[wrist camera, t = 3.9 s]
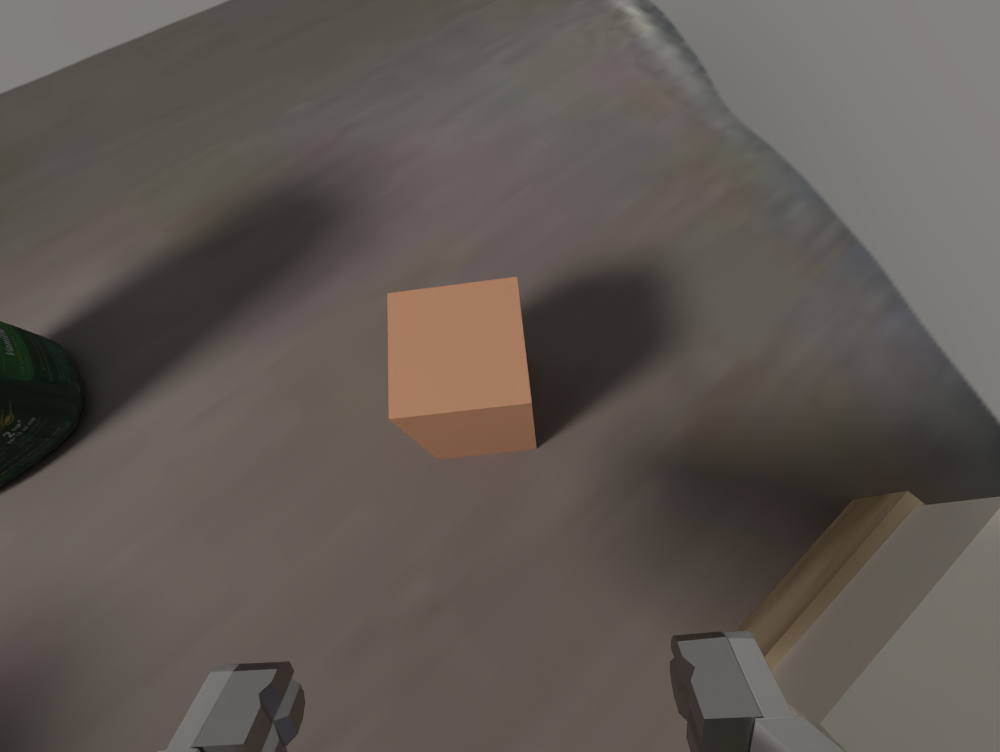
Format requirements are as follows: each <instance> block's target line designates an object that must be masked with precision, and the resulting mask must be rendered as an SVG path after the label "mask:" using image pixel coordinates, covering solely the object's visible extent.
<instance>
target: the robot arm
mask: <svg viewBox="0 0 1000 752" xmlns="http://www.w3.org/2000/svg"><path fill="white" fill-rule="evenodd" d="M671 649H672V652H673V656H674V658H673V659H672V660H671V661H670V675H671V683H672V689H673V693H674V697H675V701H676V705H677V708H678V711H679V714H680V715H681V716H682V717H683V718H684V719H685V720H686V721H687V737H686V738H687V741H688V744H689V748H690V751H691V752H845V751H843V750H842V749H841V748H840V747H839V746H838V745H836V744H835V743H834V742H833V741H832V740H830V739H829V738H828V737H827V736H826V735H825V734H823V733H822V732H821V731H820V730H819V729H817V728H816V727H815V726H814V725H813V724H811V723H810V722H809V721H808V720H807V719H806V718H804V717H803V716H794V714H793V713H792V711H791V709H790V707H789V705H788V703H787V701H786V699H785V697H784V695H783V693H782V691H781V689H780V687H779V685H778V683H777V681H776V679H775V677H774V675H773V673H772V671H771V669H770V667H769V665H768V663H767V662H766V660H765V658H764V656H763V654H762V652H761V650H760V648H759V646H758V644H757V642H756V640H755V638H754V636H753V635H752V634H751V633H750V632H749V631H746V630H744V631H732V632H709V633H697V634H685V635H673V637H672V638H671ZM293 673H294V669H293V668H292V666H291V664H290V662H289V661H285V662H265V663H246V664H243V663H240V664H225V665H218V666H217V667H216V668H215V669H213V670H212V671H211V672H210V674H209V675H208V677H207V679H206V681H205V682H204V684H203V686H202V688H201V689H200V691H199V693H198V694H197V696H196V698H195V700H194V701H193V703H192V705H191V707H190V708H189V710H188V712H187V714H186V715H185V717H184V719H183V721H182V722H181V724H180V726H179V728H178V729H177V731H176V733H175V734H174V736H173V738H172V740H171V741H170V743H169V745H168V747H167V748H166V750H159V751H157V752H287V748H286V746H287V745H288V744H289V743H290V742H291V740H292V739H293V738H294V737H295V736H296V735H297V734H298V731H299V728H300V725H301V723H302V720H303V714H304V707H305V697H304V691H303V689H302V686H301V684H299V683H298V682H296V681H295V680H293V679H292V676H293Z"/></svg>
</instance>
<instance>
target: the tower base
mask: <svg viewBox="0 0 1000 752" xmlns="http://www.w3.org/2000/svg"><path fill="white" fill-rule="evenodd" d="M921 505H925V504H924V503H923V502H921V501H920V500H919V499H918V498H917V497H915V496H914V495H913V494H912V493H910V492H909V491H903V492H897V493H890V494H884V495H878V496H872V497H866V498H860V499H854V500H852V501H851V502H850V503H849V504H848V506H847V507H846V508H845V509H844V510H843V511H842V512H841V513H840V515H839V516H838V517H837V518H836V519H835V520H834V521H833V522H832V524H831V525H830V526H829V527H828V528H827V529H826V530H825V532H824V533H823V534H822V535H821V536H820V537H819V538H818V539H817V541H816V542H815V543H814V544H813V545H812V546H811V547H810V548H809V550H808V551H807V552H806V553H805V554H804V555H803V556H802V557H801V559H800V560H799V561H798V562H797V563H796V564H795V565H794V566H793V568H792V569H791V570H790V571H789V572H788V573H787V574H786V575H785V577H784V578H783V579H782V580H781V581H780V582H779V583H778V584H777V586H776V587H775V588H774V589H773V590H772V591H771V592H770V594H769V595H768V596H767V597H766V598H765V599H764V600H763V601H762V603H761V604H760V605H759V606H758V607H757V608H756V609H755V610H754V612H753V613H752V614H751V615H750V616H749V617H748V618H747V619H746V621H745V622H744V623H743V624H742V625H741V626H740V627H739V628H738V630H737V631H744V630H746V631H749V632H750V633H751V634H752V635H753V636H754V638H755V640H756V642H757V644H758V646H759V648H760V650H761V652H762V654H763V656H764V658H765V660H766V662H767V663H768V665H769V667H770V669H771V671H772V670H773V669H774V668H775V666H776V665H777V664H778V663H779V662H780V661H781V660H782V658H783V657H784V656H785V655H786V654H787V653H788V652H789V650H790V649H791V648H792V647H793V646H794V645H795V644H796V642H797V641H798V640H799V639H800V638H801V637H802V636H803V634H804V633H805V632H806V631H807V630H808V629H809V628H810V626H811V625H812V624H813V623H814V622H815V621H816V620H817V618H818V617H819V616H820V615H821V614H822V613H823V612H824V610H825V609H826V608H827V607H828V606H829V605H830V604H831V602H832V601H833V600H834V599H835V598H836V597H837V596H838V594H839V593H840V592H841V591H842V590H843V589H844V588H845V586H846V585H847V584H848V583H849V582H850V581H851V580H852V578H853V577H854V576H855V575H856V574H857V573H858V572H859V570H860V569H861V568H862V567H863V566H864V565H865V564H866V562H867V561H868V560H869V559H870V558H871V557H872V556H873V554H874V553H875V552H876V551H877V550H878V549H879V548H880V546H881V545H882V544H883V543H884V542H885V541H886V540H887V538H888V537H889V536H890V535H891V534H892V533H893V532H894V530H895V529H896V528H897V527H898V526H899V525H900V524H901V522H902V521H903V520H904V519H905V518H906V517H907V516H908V514H909V513H910V512H911V511H912V510H913V509H914V508H915V506H921Z"/></svg>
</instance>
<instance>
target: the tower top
mask: <svg viewBox="0 0 1000 752" xmlns="http://www.w3.org/2000/svg"><path fill="white" fill-rule="evenodd" d="M772 673H773V675H774V677H775V679H776V681H777V683H778V685H779V687H780V689H781V691H782V693H783V695H784V697H785V699H786V701H787V703H788V705H789V707H790V709H791V711H792V713H793V714H794V716H803V717H804V718H806V719H807V720H808V721H809V722H810V723H811V724H813V725H814V726H815V727H816V728H817V729H819V730H820V731H821V732H822V733H823V734H825V735H826V736H827V737H828V738H829V739H830V740H832V741H833V742H834V743H835V744H836V745H838V746H839V747H840V748H841V749H842V750H843V751H845V752H1000V497H992V498H983V499H974V500H965V501H956V502H948V503H939V504H930V505H921V506H915V508H914V509H913V510H912V511H911V512H910V513H909V514H908V516H907V517H906V518H905V519H904V520H903V521H902V522H901V524H900V525H899V526H898V527H897V528H896V529H895V530H894V532H893V533H892V534H891V535H890V536H889V537H888V538H887V540H886V541H885V542H884V543H883V544H882V545H881V546H880V548H879V549H878V550H877V551H876V552H875V553H874V554H873V556H872V557H871V558H870V559H869V560H868V561H867V562H866V564H865V565H864V566H863V567H862V568H861V569H860V570H859V572H858V573H857V574H856V575H855V576H854V577H853V578H852V580H851V581H850V582H849V583H848V584H847V585H846V586H845V588H844V589H843V590H842V591H841V592H840V593H839V594H838V596H837V597H836V598H835V599H834V600H833V601H832V602H831V604H830V605H829V606H828V607H827V608H826V609H825V610H824V612H823V613H822V614H821V615H820V616H819V617H818V618H817V620H816V621H815V622H814V623H813V624H812V625H811V626H810V628H809V629H808V630H807V631H806V632H805V633H804V634H803V636H802V637H801V638H800V639H799V640H798V641H797V642H796V644H795V645H794V646H793V647H792V648H791V649H790V650H789V652H788V653H787V654H786V655H785V656H784V657H783V658H782V660H781V661H780V662H779V663H778V664H777V665H776V666H775V668H774V669H773V670H772Z"/></svg>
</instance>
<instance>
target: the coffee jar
mask: <svg viewBox="0 0 1000 752" xmlns="http://www.w3.org/2000/svg"><path fill="white" fill-rule="evenodd" d="M82 405H83V387H82V382H81V380H80V377H79V373H78V371H77V369H76V367H75V365H74V363H73V362H72V360H71V358H70V357H69V356H68V354H67V353H66V352H65V350H64V349H63V348H62V347H61V346H60V345H59V344H57V343H56V342H54V341H52V340H49V339H47V338H45V337H42V336H40V335H37V334H34V333H32V332H29V331H26V330H24V329H21V328H18V327H15V326H12V325H9V324H6V323H3V322H0V486H2V485H4V484H6V483H7V482H9V481H11V480H13V479H14V478H15V477H17V476H18V475H20V474H21V473H23V472H24V471H25V470H27V469H28V468H30V467H31V466H33V465H34V464H35V463H37V462H38V461H40V460H41V459H42V458H44V457H45V456H46V455H47V454H49V453H50V452H51V451H52V450H53V449H55V448H56V447H57V446H58V445H60V444H61V443H62V442H63V441H64V440H65V439H66V438H67V437H68V436H69V435H70V434H71V433H72V431H73V430H74V429H75V427H76V426H77V424H78V420H79V416H80V413H81V410H82Z"/></svg>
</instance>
